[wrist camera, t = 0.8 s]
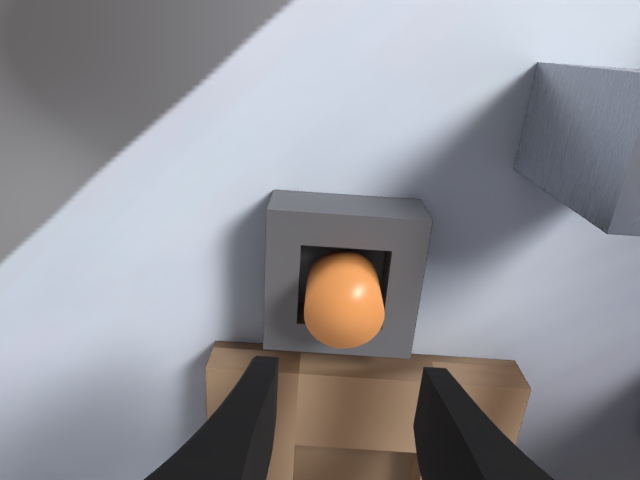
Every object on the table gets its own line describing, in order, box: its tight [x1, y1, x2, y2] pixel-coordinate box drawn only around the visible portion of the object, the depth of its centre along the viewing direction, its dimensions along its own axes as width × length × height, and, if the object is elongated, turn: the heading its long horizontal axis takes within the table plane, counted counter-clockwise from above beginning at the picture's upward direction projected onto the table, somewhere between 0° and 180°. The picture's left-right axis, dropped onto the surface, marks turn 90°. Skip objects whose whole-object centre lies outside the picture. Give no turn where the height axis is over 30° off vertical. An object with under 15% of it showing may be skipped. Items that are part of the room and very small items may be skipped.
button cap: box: [304, 250, 385, 349], centre depth 18 cm, size 3×3×2 cm
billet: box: [514, 62, 640, 236], centre depth 15 cm, size 4×4×7 cm
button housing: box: [263, 190, 433, 359], centre depth 20 cm, size 6×6×2 cm
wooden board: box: [206, 341, 531, 480], centre depth 24 cm, size 14×14×2 cm
